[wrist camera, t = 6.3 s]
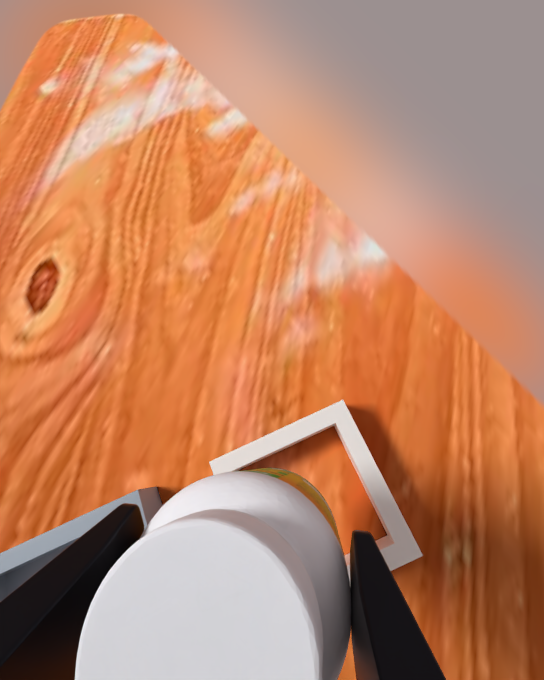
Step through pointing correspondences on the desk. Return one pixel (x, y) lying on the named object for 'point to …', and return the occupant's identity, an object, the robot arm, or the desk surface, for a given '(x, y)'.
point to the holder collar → (399, 538)
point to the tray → (64, 539)
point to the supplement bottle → (226, 588)
